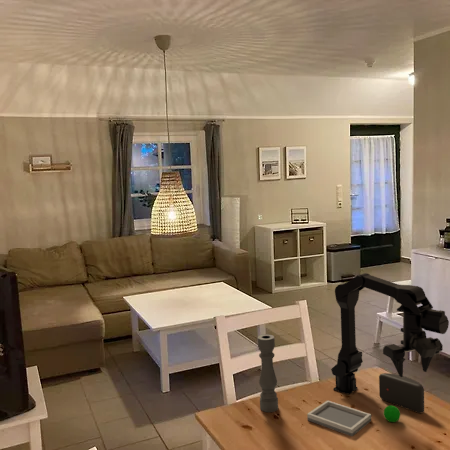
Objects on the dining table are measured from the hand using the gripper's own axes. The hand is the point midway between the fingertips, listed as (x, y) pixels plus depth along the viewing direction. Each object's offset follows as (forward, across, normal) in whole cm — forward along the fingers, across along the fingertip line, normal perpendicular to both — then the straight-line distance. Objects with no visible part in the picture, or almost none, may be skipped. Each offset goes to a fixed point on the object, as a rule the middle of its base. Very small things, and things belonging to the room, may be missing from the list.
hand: (412, 374), depth 159 cm
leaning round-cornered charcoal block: (+14, 0, +6) cm, 15 cm away
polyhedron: (+14, -8, -1) cm, 16 cm away
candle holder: (+14, -40, +23) cm, 49 cm away
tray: (+14, -23, +6) cm, 28 cm away
